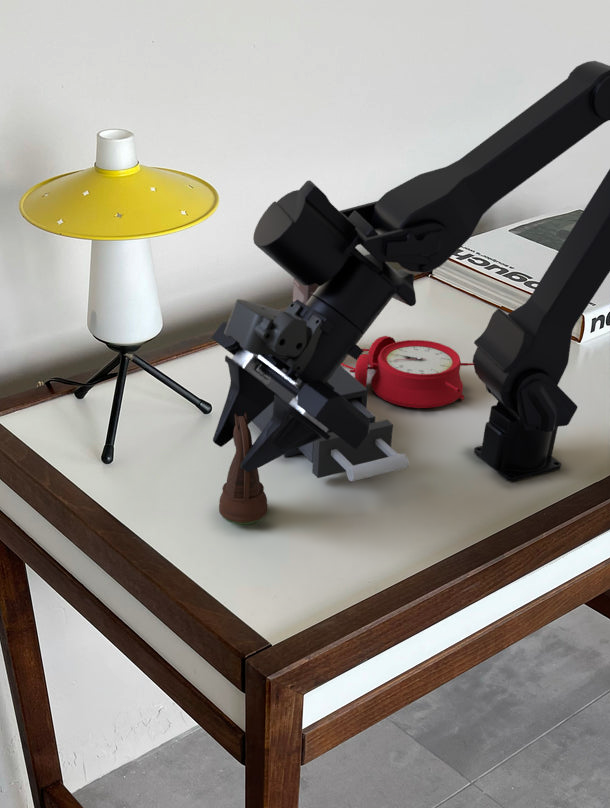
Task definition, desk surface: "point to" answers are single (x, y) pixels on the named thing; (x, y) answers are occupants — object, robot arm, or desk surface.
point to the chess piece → (242, 483)
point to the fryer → (339, 380)
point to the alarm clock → (412, 372)
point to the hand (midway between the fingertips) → (229, 456)
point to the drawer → (356, 452)
